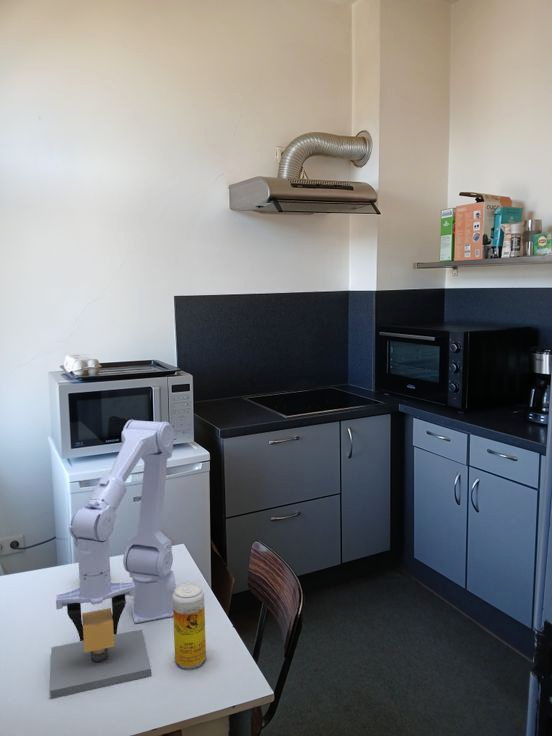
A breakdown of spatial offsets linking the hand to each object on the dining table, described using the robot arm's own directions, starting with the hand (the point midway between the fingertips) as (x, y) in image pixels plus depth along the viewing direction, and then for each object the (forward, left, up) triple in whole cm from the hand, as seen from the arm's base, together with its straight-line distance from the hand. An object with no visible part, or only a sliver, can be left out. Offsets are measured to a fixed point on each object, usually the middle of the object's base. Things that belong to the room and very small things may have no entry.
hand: (98, 634), depth 117 cm
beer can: (-17, +5, -6) cm, 19 cm away
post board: (0, 0, -6) cm, 6 cm away
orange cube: (0, 0, -1) cm, 1 cm away
